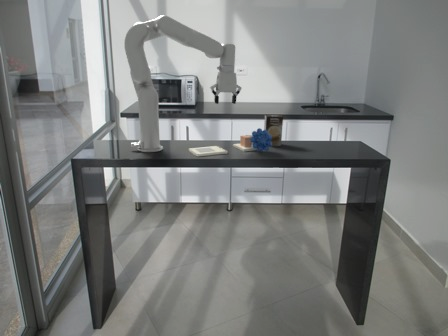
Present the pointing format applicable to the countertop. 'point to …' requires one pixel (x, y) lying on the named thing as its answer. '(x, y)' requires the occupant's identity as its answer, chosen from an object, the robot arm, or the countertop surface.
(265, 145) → the grapes
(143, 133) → the robot arm
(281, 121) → the coffee box
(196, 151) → the cream panel with window
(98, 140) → the countertop surface
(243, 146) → the stub
